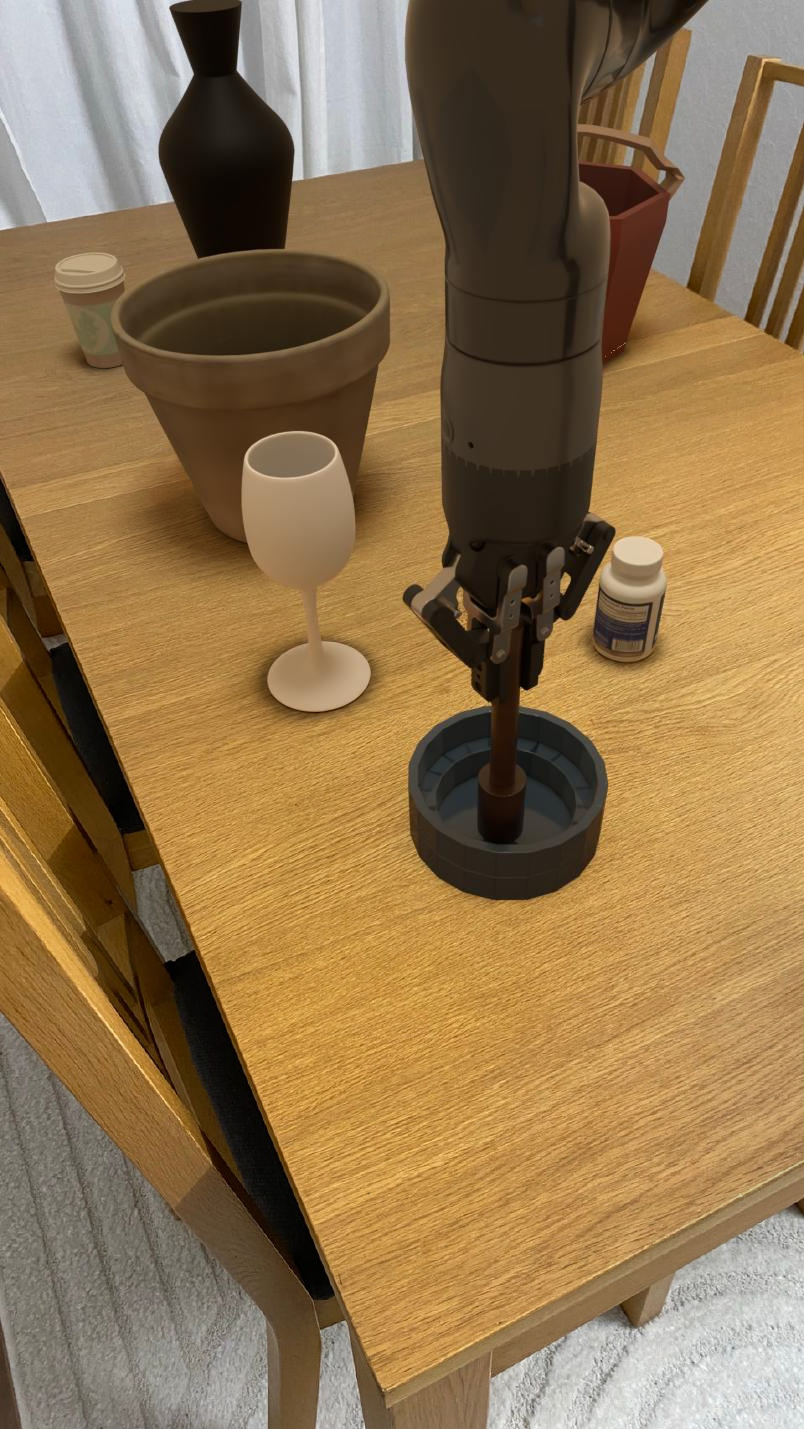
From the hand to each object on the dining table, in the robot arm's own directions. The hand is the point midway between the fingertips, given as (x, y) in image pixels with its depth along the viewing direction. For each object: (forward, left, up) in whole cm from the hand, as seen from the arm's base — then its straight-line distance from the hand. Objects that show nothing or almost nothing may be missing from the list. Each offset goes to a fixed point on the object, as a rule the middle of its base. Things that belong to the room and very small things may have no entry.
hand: (507, 688), depth 60 cm
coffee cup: (+92, -10, -16) cm, 94 cm away
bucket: (+58, -56, -15) cm, 82 cm away
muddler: (0, 0, -13) cm, 13 cm away
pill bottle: (+11, -22, -16) cm, 29 cm away
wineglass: (+23, +1, -15) cm, 28 cm away
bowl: (+1, -1, -15) cm, 15 cm away
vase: (+95, -32, -15) cm, 101 cm away
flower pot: (+48, -10, -16) cm, 51 cm away
